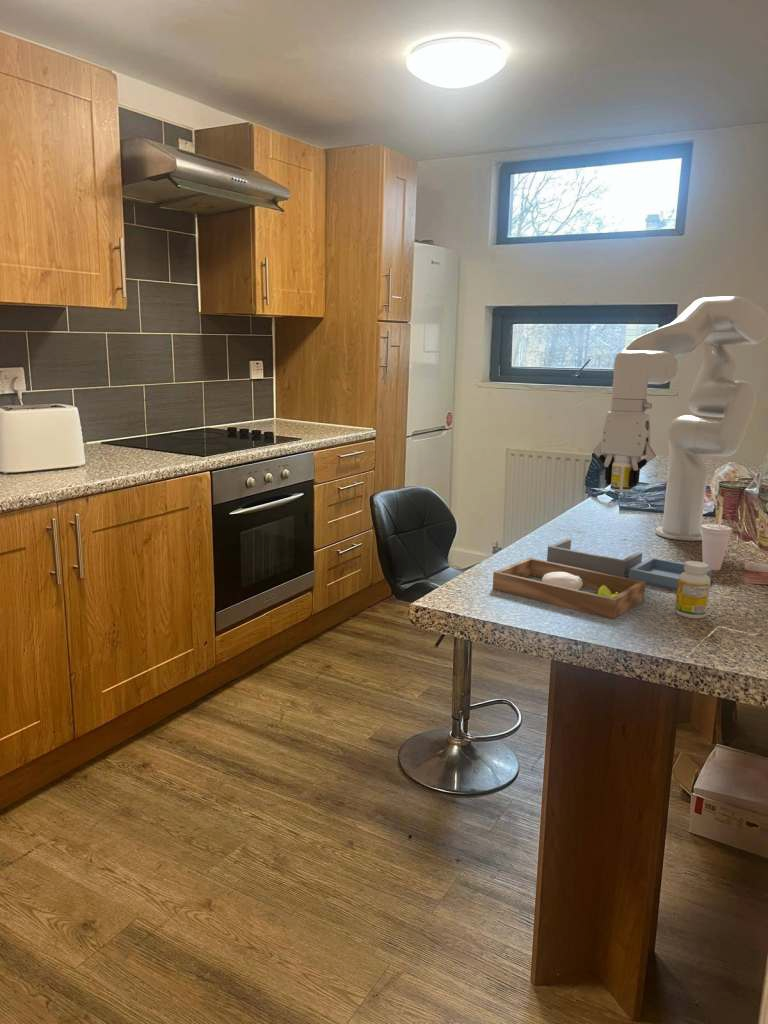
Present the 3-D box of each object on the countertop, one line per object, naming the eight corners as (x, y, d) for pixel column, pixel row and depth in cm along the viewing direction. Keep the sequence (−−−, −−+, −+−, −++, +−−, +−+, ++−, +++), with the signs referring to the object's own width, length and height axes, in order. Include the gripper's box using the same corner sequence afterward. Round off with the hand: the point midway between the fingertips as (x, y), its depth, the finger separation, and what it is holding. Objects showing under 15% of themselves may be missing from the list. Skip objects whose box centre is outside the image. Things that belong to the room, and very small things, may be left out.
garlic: (579, 587, 150) (581, 569, 149) (584, 598, 143) (585, 579, 142) (539, 585, 150) (541, 567, 150) (542, 595, 144) (543, 577, 143)
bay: (566, 553, 175) (567, 538, 174) (640, 568, 164) (642, 552, 163) (546, 561, 167) (547, 546, 167) (623, 577, 156) (625, 561, 156)
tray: (649, 567, 164) (651, 557, 164) (710, 579, 156) (712, 568, 156) (628, 580, 154) (629, 569, 154) (691, 594, 146) (693, 582, 146)
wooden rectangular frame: (528, 573, 158) (529, 557, 157) (644, 599, 142) (645, 581, 142) (492, 589, 146) (493, 572, 146) (613, 619, 131) (615, 600, 130)
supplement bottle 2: (700, 621, 131) (707, 569, 129) (670, 614, 134) (676, 563, 132) (710, 614, 135) (716, 563, 133) (680, 607, 138) (686, 558, 136)
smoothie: (730, 573, 161) (738, 511, 158) (699, 571, 163) (706, 509, 160) (723, 565, 167) (730, 505, 165) (693, 563, 169) (700, 504, 166)
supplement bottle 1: (631, 489, 173) (634, 454, 171) (631, 492, 169) (634, 456, 167) (610, 487, 175) (613, 452, 173) (609, 491, 170) (612, 455, 169)
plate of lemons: (583, 602, 141) (584, 588, 140) (599, 592, 147) (600, 578, 146) (624, 611, 136) (625, 597, 136) (639, 601, 142) (640, 587, 142)
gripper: (671, 408, 165) (663, 487, 169) (599, 403, 176) (593, 478, 180) (659, 409, 160) (651, 492, 163) (586, 405, 170) (580, 482, 174)
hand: (621, 484), depth 171 cm, fingers closed on supplement bottle 1, 4 cm apart
